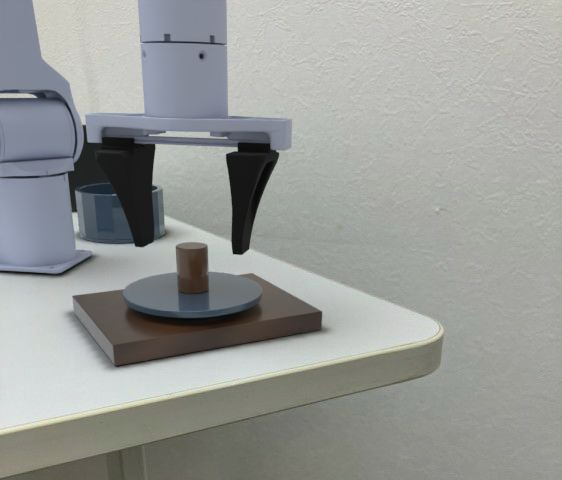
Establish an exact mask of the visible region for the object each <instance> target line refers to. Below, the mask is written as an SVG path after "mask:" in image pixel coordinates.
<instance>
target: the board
mask: <svg viewBox="0 0 562 480" xmlns="http://www.w3.org/2000/svg"><path fill="white" fill-rule="evenodd" d="M237 275H238V276H242V277H246V278H249V279H251V280H253V281H255V282H257V283H258V284H259V285H260V286H261V287H262V299H261V300H260V302H259V303H257V304H256V305H254V306H253V307H251V308H248V309H246V310H243V311H240V312H236V313H232V314H227V315H222V316H218V317H212V318H203V319H178V318H169V317H163V316H156V315H150V314H146V313H142V312H139V311H137V310H134V309H132V308H130V307H129V306H128V305H127V304H126V303H125V302H124V299H123V291H124V289H125V288H123V289H122V288H121V289H114V290H106V291H99V292H90V293H84V294H75V295H72V297H71V298H72V306H73V313H74V315H75V316H76V317H77V318H78V320H79V321H80V323H81V324H82V325H83V326H84V328H85V330H87V332H88V333H89V334H90V336H91V337H92V338H93V339H94V341H95V342H96V343H97V345H98V346H99V347H100V349H101V350H102V351H103V352H104V354H105V355H106V356H107V358H108V359H109V360H110V362H111V363H112V364H113V366H114V367H118V366H123V365H124V366H125V365H129V364H135V363H140V362H145V361H151V360H157V359H162V358H169V357H174V356H175V357H176V356H180V355H185V354H192V353H198V352H203V351H209V350H214V349H221V348H225V347H231V346H237V345H241V344H248V343H253V342H258V341H265V340H270V339H275V338H281V337H287V336H293V335H299V334H304V333H310V332H315V331H321V330H322V329H323V311H322V310H321V309H319V308H317V307H315V306H313V305H311V304H310V303H308V302H307V301H304V300H302V299H300V298H299V297H297V296H296V295H293V294H292V293H289V292H288V291H286V290H285V289H282V288H280V287H279V286H277V285H276V284H273V283H271V282H270V281H268V280H266V279H265V278H263V277H261V276H259V275H257V274H256V273H253V272H249V273H241V274H237Z"/></svg>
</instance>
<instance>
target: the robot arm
mask: <svg viewBox="0 0 562 480" xmlns="http://www.w3.org/2000/svg"><path fill="white" fill-rule="evenodd" d="M227 3H228V2H227V0H137V8H138V9H137V10H138V11H137V12H138V24H139V25H138V26H139V40H140V42H139V43H140V45H139V46H140V59H141V75H142V76H141V77H142V92H143V108H144V113H129V112H126V113H125V112H123V113H121V112H93V113H92V112H91V113H85V114H84V118H85V119H84V120H85V124H86V131H87V141H88V142H89V143H102V146H101V150H97V151H95V158H96V162H97V163H98V165H99V166H100V168H101V169H102V171H103V172H104V174H105V175H106V177H107V178H108V180H109V182H110V184H111V185H112V187H113V189H114V191H115V193H116V195H117V197H118V199H119V201H120V204H121V206H122V208H123V211H124V213H125V216H126V219H127V222H128V225H129V228H130V231H131V234H132V237H133V241H134V242H133V245H134V247H135V248H145V247H147V246H149V245H150V244H153V243H154V242H155V239H154V229H155V228H154V214H153V203H152V184H153V179H154V177H153V176H154V165H155V155H156V145H171V146H192V147H217V148H219V147H220V148H237V150H234V151H231V152H227V153H226V154H225V162H226V167H227V174H228V181H229V190H230V191H229V192H230V201H231V234H230V235H231V236H230V237H231V240H230V241H231V243H230V244H231V251H232V252H231V253H232V255H238V256H243V255H244V254H245V253H246V252H248V251H249V250H250V246H251V245H250V244H251V240H252V239H251V238H252V233H253V229H254V225H255V224H254V223H255V220H256V216H257V212H258V209H259V206H260V203H261V200H262V198H263V194H264V192H265V190H266V187H267V185H268V183H269V180H270V178H271V176H272V174H273V172H274V170H275V167H276V165H277V163H278V162H279V161H278V160H279V158H280V152H279V151H282V152H283V151H287V150H289V149H292V140H293V139H292V137H293V135H292V134H293V131H292V129H293V119H292V118H285V117H284V118H283V117H279V118H278V117H262V116H261V117H260V116H242V115H241V116H240V115H229V82H228V81H229V79H228V77H229V75H228V73H229V72H228V70H229V69H228V19H227V18H228V11H227V10H228V9H227V8H228V7H227V6H228V4H227ZM0 94H3V95H5V94H7V95H9V94H12V95H13V94H17V95H18V94H22V95H23V94H25V95H27V94H28V95H31V96H34V97H0V271H5V272H6V271H7V272H20V273H21V272H22V273H39V274H40V273H41V274H55V275H56V274H62V273H63V272H65V271H67V270H69V269H70V268H72V267H73V266H76V265H77V264H78V263H79V264H80V263H81V262H83V261H84V260H86V259H88V258H90V257H91V256H92V255H93V251H92V250H90V249H77V246H76V245H77V244H76V236H75V228H74V219H73V210H72V208H71V200H70V191H69V182H68V173H67V171H74V164H73V163H75V162H76V161H77V160H78V158H79V156H80V154H81V151H82V148H83V142H84V133H83V126H82V124H83V122H82V120H81V117H80V114H79V112H78V111H77V107H76V105H75V102H74V98H73V94H72V90H71V83H70V82H69V80H67V79H66V78H65V76H63V75H62V74H61V73H60V72H59V71H57V70H56V69H54V67H52V66H51V65H50V64H49V63H47V61H46V60H44V59H43V56H42V51H41V45H40V37H39V33H38V25H37V19H36V14H35V7H34V2H33V0H0ZM167 132H181V133H182V132H185V133H187V132H189V133H209V136H210V137H192V136H191V137H189V136H188V137H187V136H162V134H166V133H167ZM160 134H161V135H160Z"/></svg>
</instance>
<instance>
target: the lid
mask: <svg viewBox="0 0 562 480" xmlns="http://www.w3.org/2000/svg"><path fill="white" fill-rule="evenodd" d="M175 261H176V264H175V265H176V271H173V272H166V273H159V274H155V275H150V276H147V277H142V278H140V279H138V280H135V281H133V282H131V283H129V284H128V285H126V286H125V287H124V288H123V289H124V291H123V299H124V302H125V303H126V304H127V305H128V306H129V307H130V308H132V309H134V310H137V311H139V312H142V313H146V314H150V315H156V316H163V317H169V318H178V319H203V318H212V317H218V316H222V315H227V314H232V313H236V312H240V311H243V310H246V309H248V308H251V307H253V306H254V305H256V304H257V303H259V302H260V300H261V299H262V287H261V286H260V285H259V284H258V283H257V282H255V281H253V280H251V279H249V278H246V277H242V276H238V275H239V274H233V273H228V272H227V273H226V272H219V271H209V270H210V269H209V246H208V244H206V243H205V242H198V241H188V242H187V241H186V242H181V243H178V244H176V245H175Z"/></svg>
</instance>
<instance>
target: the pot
mask: <svg viewBox="0 0 562 480" xmlns="http://www.w3.org/2000/svg"><path fill="white" fill-rule="evenodd" d="M75 196H76V205H77V210H76V212H77V213H76V214H77V222H78V231H79V235H80V238H81V239H83V240H85V241H89V242H94V243H103V244H131V243H133V244H134V241H133V237H132V234H131V231H130V228H129V225H128V222H127V219H126V216H125V213H124V211H123V208H122V206H121V204H120V201H119V199H118V197H117V195H116V193H115V191H114V189H113V187H112V185H111V184H110V182H109V183H96V184H89V185H83V186H80V187H77V188H76V189H75ZM152 203H153V214H154V228H155V229H154V240H156V239H159V238H161V237H163V236H164V235H165V231H166V225H165V224H166V223H165V206H164V188H163V187H162V186H161V185H157V184H154V183H152Z"/></svg>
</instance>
